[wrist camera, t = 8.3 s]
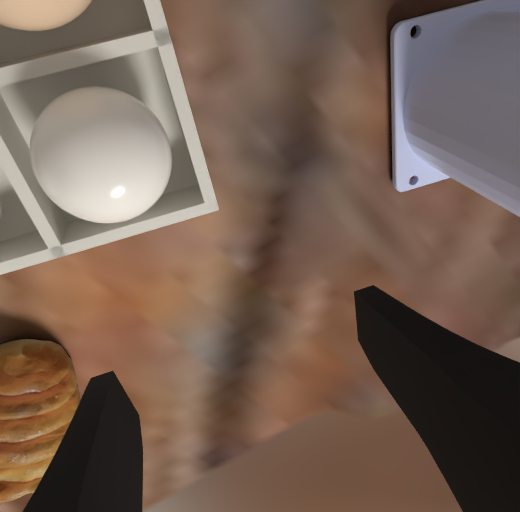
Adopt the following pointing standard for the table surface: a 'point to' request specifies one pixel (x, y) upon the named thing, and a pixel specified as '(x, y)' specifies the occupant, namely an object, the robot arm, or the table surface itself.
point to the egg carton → (85, 75)
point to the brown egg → (39, 13)
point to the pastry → (32, 411)
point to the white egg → (100, 154)
